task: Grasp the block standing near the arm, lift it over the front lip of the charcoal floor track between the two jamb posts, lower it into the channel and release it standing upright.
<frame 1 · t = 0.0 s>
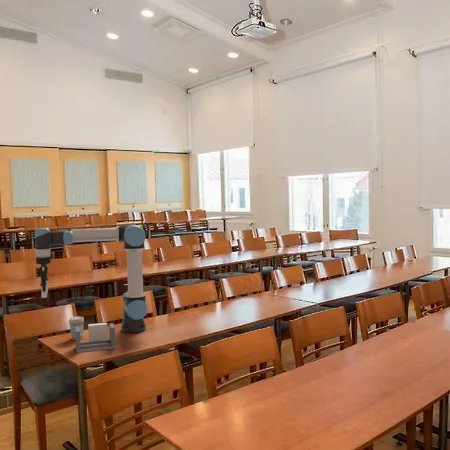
hand: (44, 295, 263), 28 cm above the table, fingers open, 13 cm apart
track: (95, 347, 260), on the table
coffee cup: (77, 338, 277), on the table
block: (98, 341, 270), on the table
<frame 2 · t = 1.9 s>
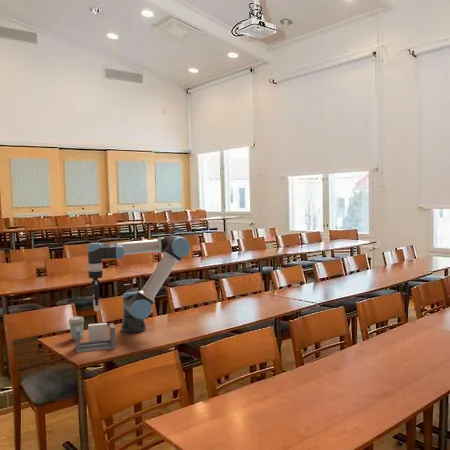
hand: (96, 308, 269), 19 cm above the table, fingers open, 13 cm apart
nothing on the table moved.
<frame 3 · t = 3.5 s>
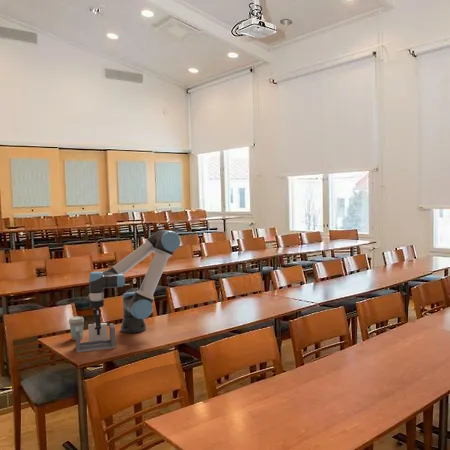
hand: (97, 337, 270), 3 cm above the table, fingers open, 13 cm apart
nothing on the table moved.
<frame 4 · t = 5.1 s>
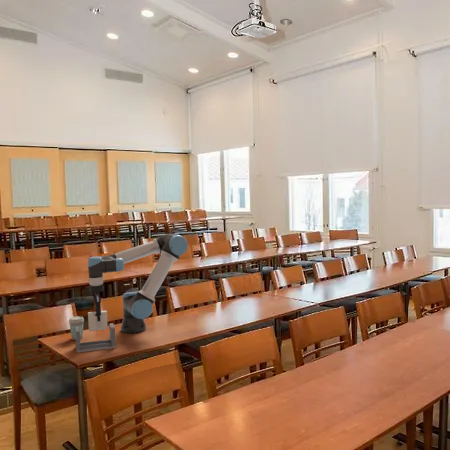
hand: (98, 325, 270), 9 cm above the table, fingers closed on block, 3 cm apart
block: (98, 329, 270), point 7 cm above the table, touching gripper
everything else where it was.
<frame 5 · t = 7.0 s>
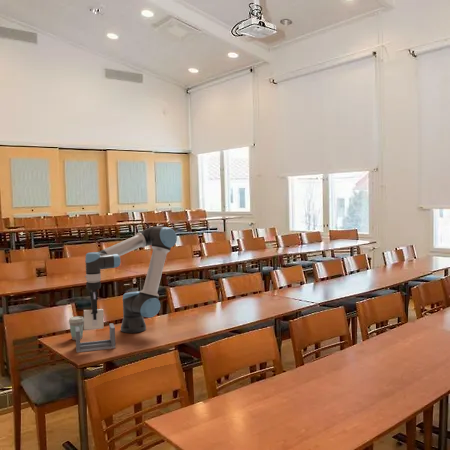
hand: (94, 324, 259), 13 cm above the table, fingers closed on block, 3 cm apart
block: (93, 328, 259), point 11 cm above the table, touching gripper
everything else where it was.
when the fingers open (4 cm above the table, at t = 9.1 s): block stays where it is, resting on track.
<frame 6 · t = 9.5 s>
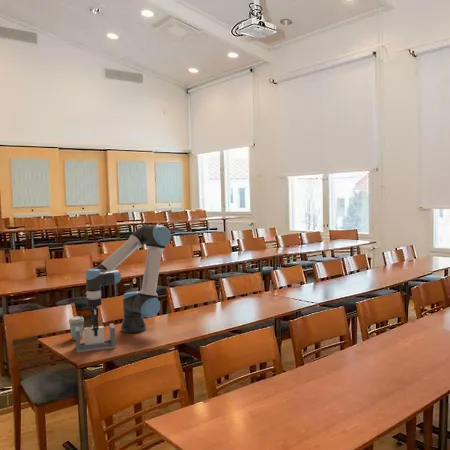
hand: (95, 339, 260), 5 cm above the table, fingers open, 9 cm apart
block: (94, 345, 260), point 1 cm above the table, touching track
everything else where it was.
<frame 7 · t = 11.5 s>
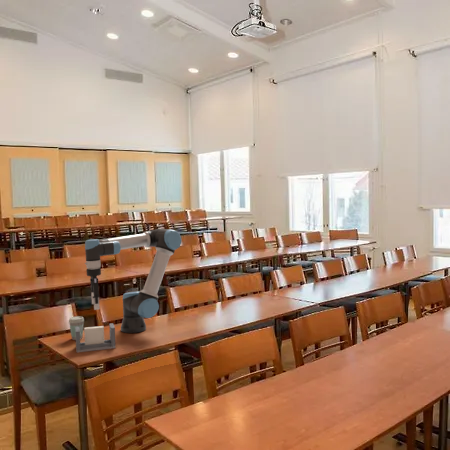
hand: (95, 306, 262), 22 cm above the table, fingers open, 13 cm apart
nothing on the table moved.
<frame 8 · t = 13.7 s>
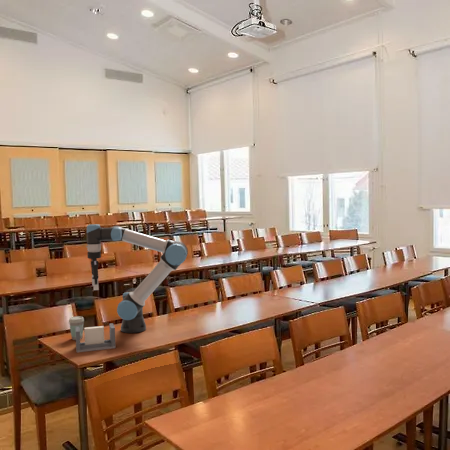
hand: (95, 287, 278), 29 cm above the table, fingers open, 13 cm apart
nothing on the table moved.
at the end: block inside the target area on the track (0.5 cm from its centre), point 1.0 cm above the track's base; block tilted 0°; the gripper is holding nothing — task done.
